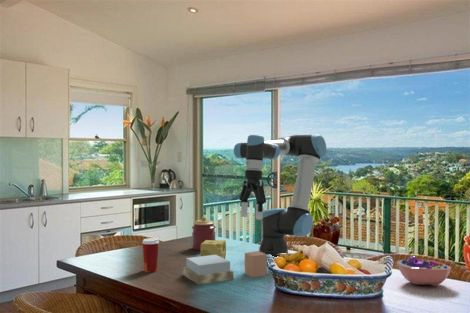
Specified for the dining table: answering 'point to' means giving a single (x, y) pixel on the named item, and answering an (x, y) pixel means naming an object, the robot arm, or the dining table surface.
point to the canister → (202, 232)
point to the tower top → (208, 264)
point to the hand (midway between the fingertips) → (251, 218)
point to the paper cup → (150, 254)
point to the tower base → (207, 276)
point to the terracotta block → (255, 264)
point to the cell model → (423, 271)
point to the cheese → (214, 248)
